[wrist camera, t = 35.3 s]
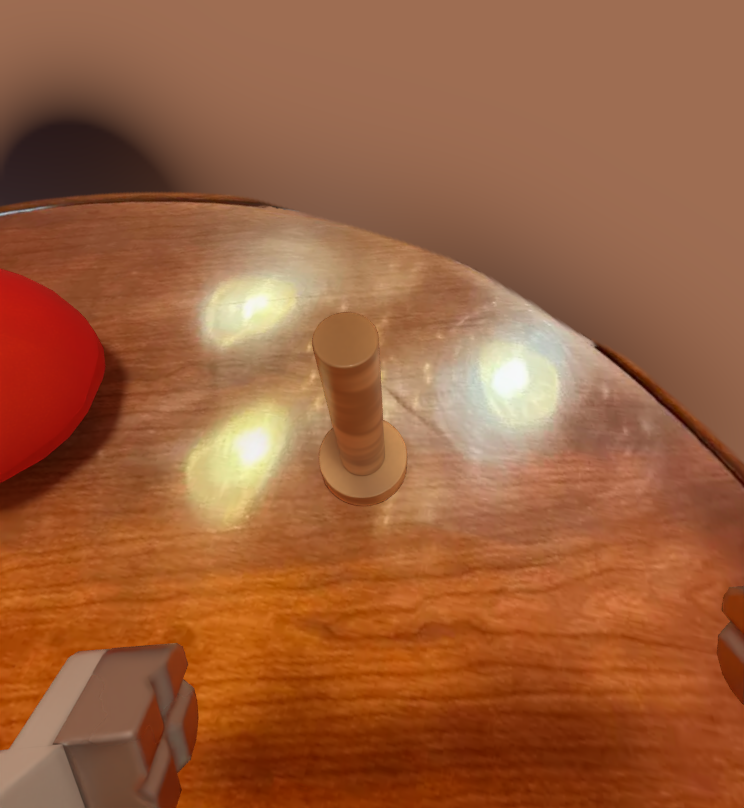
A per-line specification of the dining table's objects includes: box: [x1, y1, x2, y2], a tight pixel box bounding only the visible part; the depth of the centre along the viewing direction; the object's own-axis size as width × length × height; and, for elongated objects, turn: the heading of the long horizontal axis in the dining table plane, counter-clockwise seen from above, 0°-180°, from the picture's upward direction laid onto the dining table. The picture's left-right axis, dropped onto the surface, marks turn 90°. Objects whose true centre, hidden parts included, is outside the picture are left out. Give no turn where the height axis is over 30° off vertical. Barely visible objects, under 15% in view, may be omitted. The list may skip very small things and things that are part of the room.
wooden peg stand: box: [312, 312, 407, 506], centre depth 28 cm, size 5×5×14 cm
